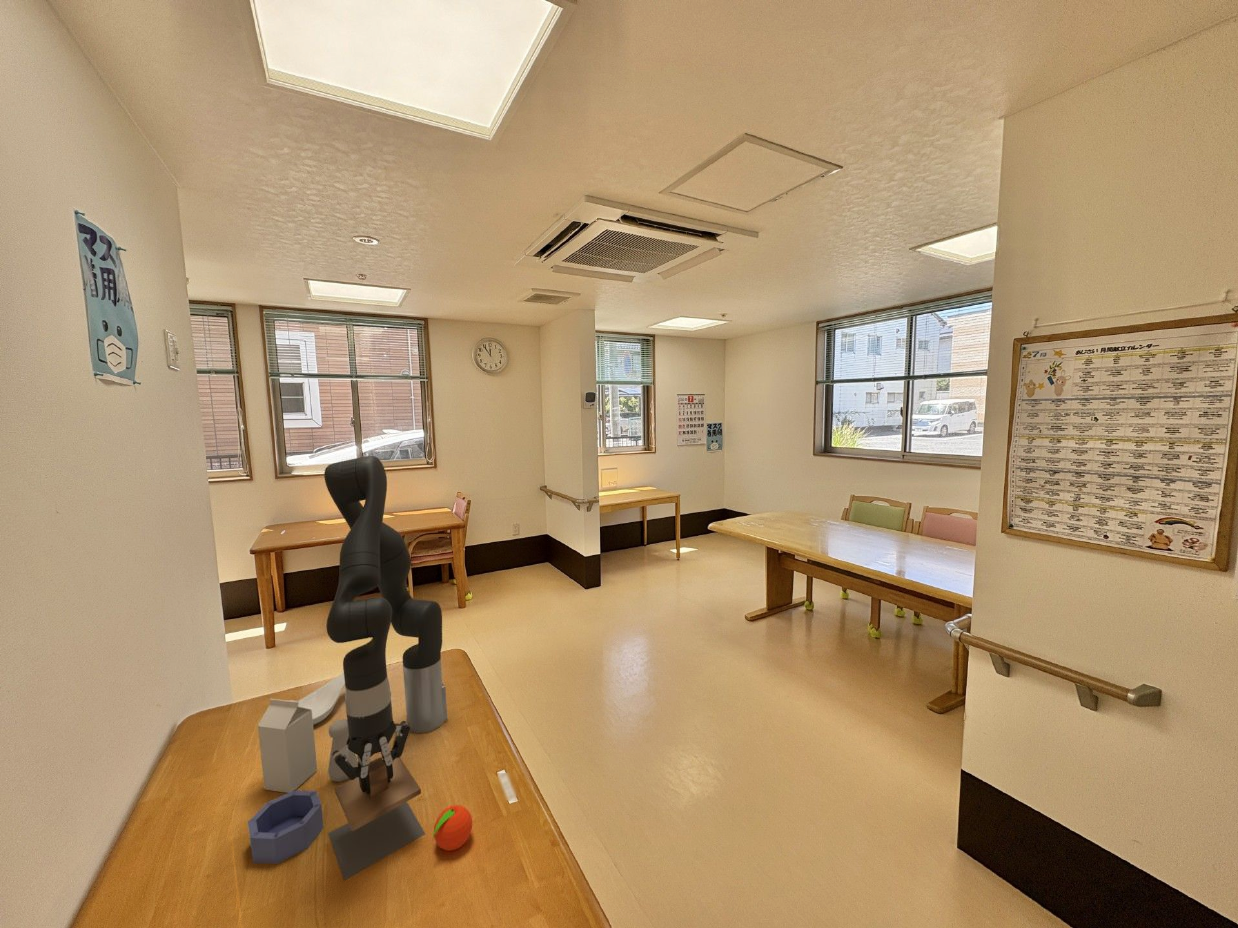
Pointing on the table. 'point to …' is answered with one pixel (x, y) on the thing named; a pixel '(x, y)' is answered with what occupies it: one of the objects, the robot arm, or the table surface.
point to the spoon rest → (323, 699)
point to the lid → (376, 793)
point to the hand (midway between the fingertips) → (377, 785)
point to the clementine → (453, 827)
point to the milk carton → (286, 745)
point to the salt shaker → (339, 741)
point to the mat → (374, 839)
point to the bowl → (285, 826)
